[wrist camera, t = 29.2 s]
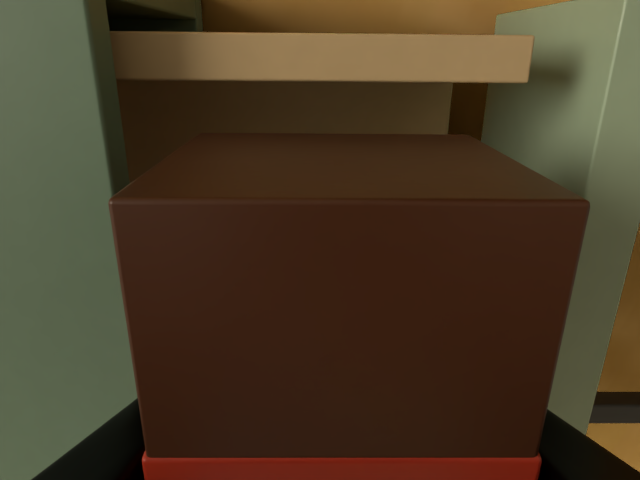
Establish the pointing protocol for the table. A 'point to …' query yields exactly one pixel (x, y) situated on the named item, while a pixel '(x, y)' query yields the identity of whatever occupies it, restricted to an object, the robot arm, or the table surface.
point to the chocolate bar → (344, 306)
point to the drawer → (435, 126)
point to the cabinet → (63, 221)
